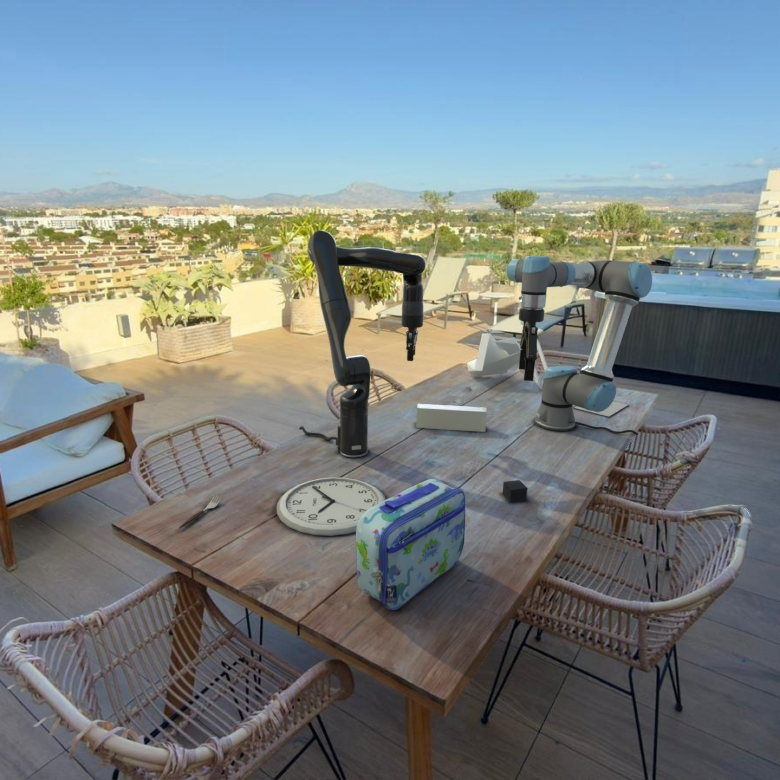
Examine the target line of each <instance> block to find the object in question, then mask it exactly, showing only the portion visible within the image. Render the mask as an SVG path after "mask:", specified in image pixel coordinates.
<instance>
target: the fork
mask: <svg viewBox="0 0 780 780" xmlns="http://www.w3.org/2000/svg"><path fill="white" fill-rule="evenodd" d="M222 498H223V495H221V493H220V494H217V493H215V494H214V495H213V497H212V499H211V500H210V502H209V503H208V504H207V505H206V507H205V508H204V509H202V510H200V511H199V512H197V513H195V514H193V515H192V516H191V517H190V518H188V519H187V520H186V521H185V522H184V523H183V524H181V525H180V526H179V527H178V529H182V528H183V527H185V526H186V525H188V524H189V523H191V522H193V521H195V520H196V519H197V518H198V517H200V516H201V515H202V514H203V513H204V512H205V511H207V510H210V509H211V510H212V509H215V508H216V507H217V506H218V505H219V503H220V501H221V499H222Z"/></svg>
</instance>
